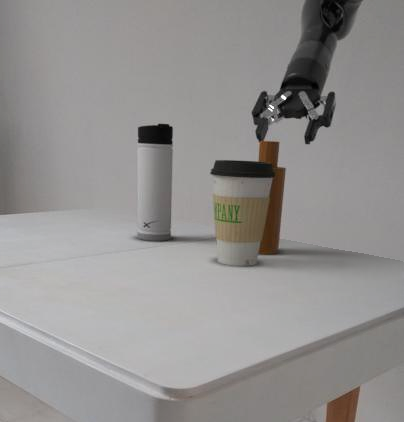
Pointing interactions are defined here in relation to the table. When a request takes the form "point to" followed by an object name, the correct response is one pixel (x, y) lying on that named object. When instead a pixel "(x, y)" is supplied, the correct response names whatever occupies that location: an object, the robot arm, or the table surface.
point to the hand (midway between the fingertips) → (282, 139)
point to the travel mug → (155, 182)
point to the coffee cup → (240, 208)
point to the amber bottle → (272, 198)
